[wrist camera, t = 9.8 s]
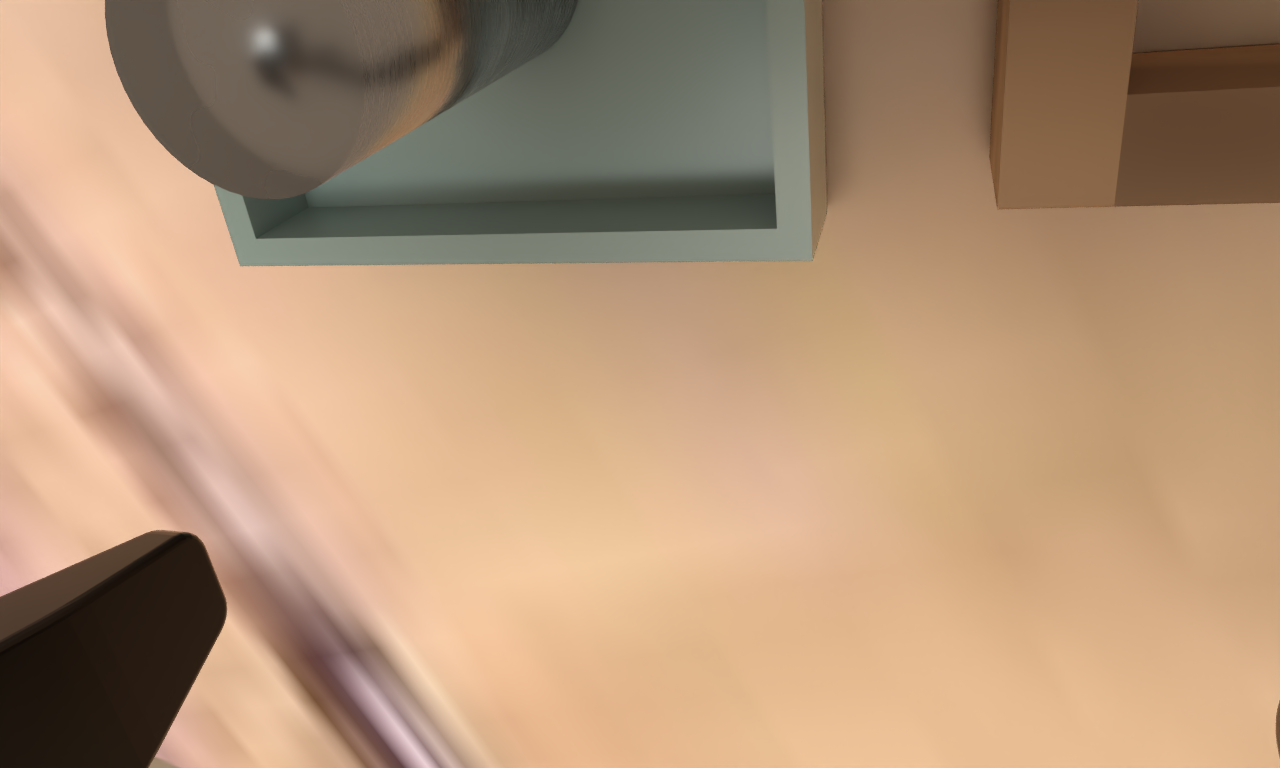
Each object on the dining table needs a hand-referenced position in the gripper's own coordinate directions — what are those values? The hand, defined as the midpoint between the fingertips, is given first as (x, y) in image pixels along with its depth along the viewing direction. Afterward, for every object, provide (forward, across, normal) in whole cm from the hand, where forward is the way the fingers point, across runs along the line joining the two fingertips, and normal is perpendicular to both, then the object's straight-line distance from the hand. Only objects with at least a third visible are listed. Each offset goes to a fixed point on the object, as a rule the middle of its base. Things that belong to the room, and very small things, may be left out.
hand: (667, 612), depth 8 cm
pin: (+12, +6, -4) cm, 14 cm away
